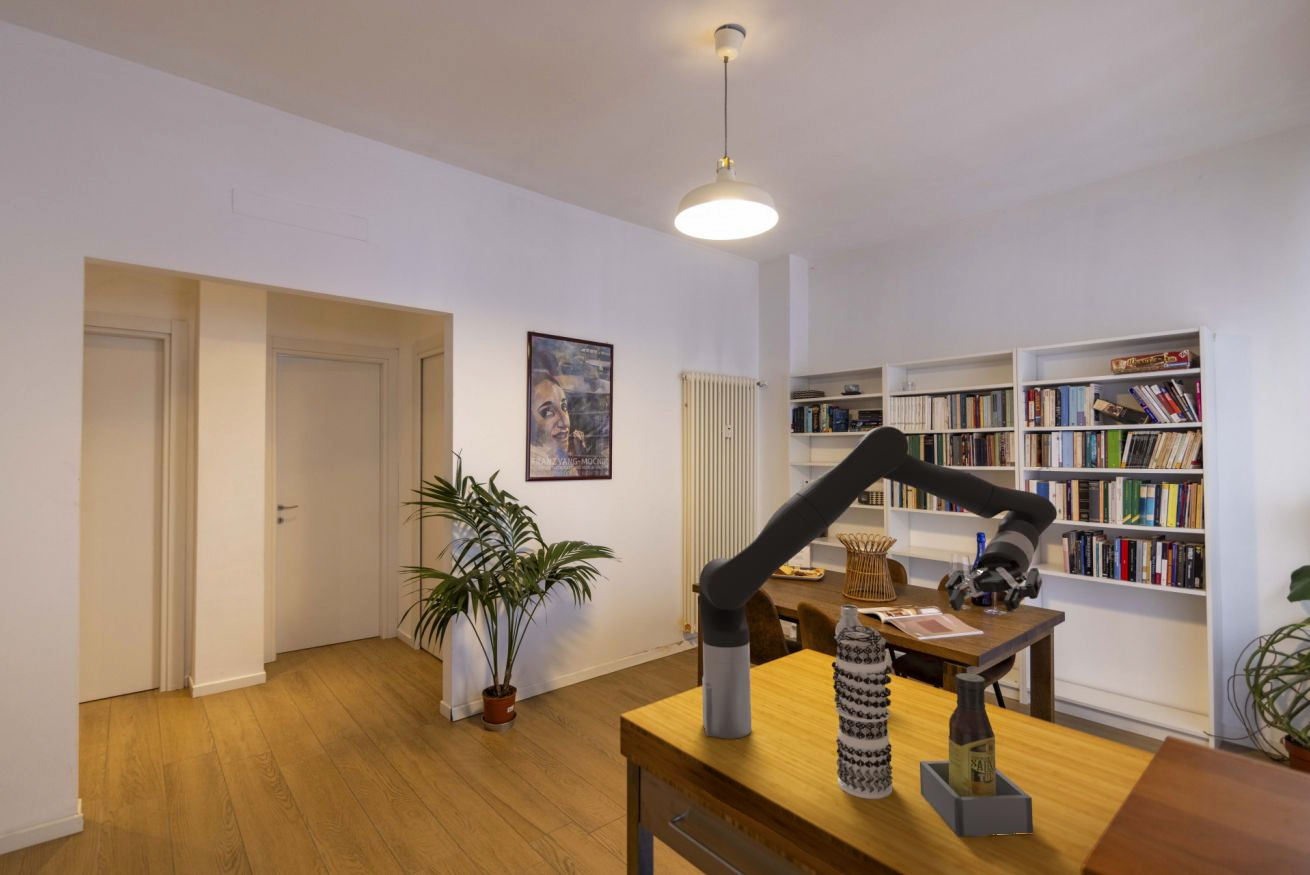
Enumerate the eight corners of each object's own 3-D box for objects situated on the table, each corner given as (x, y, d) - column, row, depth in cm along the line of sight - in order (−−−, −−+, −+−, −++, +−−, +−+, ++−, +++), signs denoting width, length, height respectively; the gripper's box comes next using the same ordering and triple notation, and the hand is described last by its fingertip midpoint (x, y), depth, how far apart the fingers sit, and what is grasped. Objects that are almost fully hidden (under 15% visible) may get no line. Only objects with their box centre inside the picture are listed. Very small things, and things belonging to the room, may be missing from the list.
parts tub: (958, 837, 88) (957, 800, 88) (920, 793, 100) (919, 761, 100) (1033, 834, 88) (1031, 797, 88) (986, 791, 100) (985, 759, 100)
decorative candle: (888, 806, 96) (883, 640, 97) (828, 790, 101) (823, 632, 102) (900, 780, 104) (895, 626, 105) (844, 767, 109) (839, 620, 110)
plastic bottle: (867, 693, 143) (864, 604, 144) (867, 704, 136) (864, 611, 137) (837, 690, 145) (835, 602, 146) (836, 701, 139) (833, 609, 140)
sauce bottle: (978, 829, 90) (973, 687, 90) (940, 808, 95) (935, 674, 96) (1007, 817, 93) (1002, 679, 94) (969, 797, 98) (964, 668, 99)
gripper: (960, 542, 120) (930, 586, 109) (1043, 537, 110) (1020, 585, 99) (972, 578, 121) (944, 625, 110) (1056, 576, 111) (1035, 628, 99)
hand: (980, 606), depth 104 cm, fingers open, 8 cm apart
